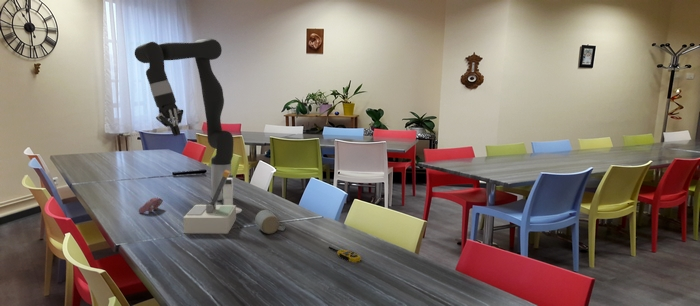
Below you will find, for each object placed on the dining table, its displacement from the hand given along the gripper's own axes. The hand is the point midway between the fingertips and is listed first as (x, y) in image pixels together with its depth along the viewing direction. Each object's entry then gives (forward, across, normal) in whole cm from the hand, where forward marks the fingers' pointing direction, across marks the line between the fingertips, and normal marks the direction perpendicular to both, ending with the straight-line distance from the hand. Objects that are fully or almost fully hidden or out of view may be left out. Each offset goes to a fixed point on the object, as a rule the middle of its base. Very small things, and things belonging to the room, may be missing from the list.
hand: (177, 135), depth 177 cm
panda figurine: (+38, +9, -4) cm, 40 cm away
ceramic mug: (+43, -4, -35) cm, 56 cm away
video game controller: (+29, -6, +22) cm, 37 cm away
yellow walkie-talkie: (+50, -14, -68) cm, 86 cm away
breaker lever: (+30, -9, -14) cm, 34 cm away
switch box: (+36, -10, -12) cm, 40 cm away
